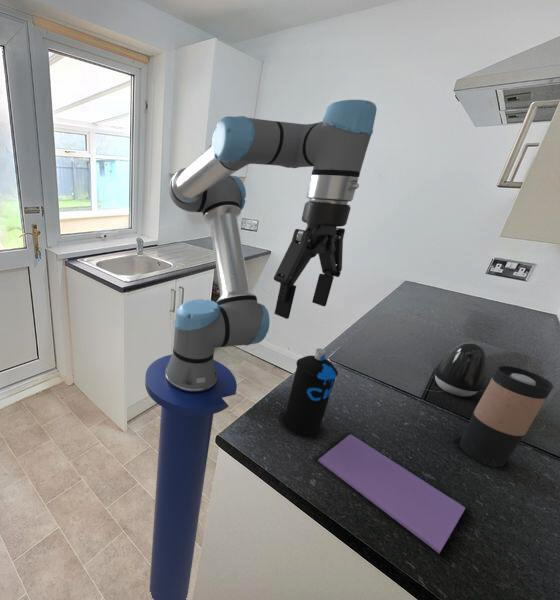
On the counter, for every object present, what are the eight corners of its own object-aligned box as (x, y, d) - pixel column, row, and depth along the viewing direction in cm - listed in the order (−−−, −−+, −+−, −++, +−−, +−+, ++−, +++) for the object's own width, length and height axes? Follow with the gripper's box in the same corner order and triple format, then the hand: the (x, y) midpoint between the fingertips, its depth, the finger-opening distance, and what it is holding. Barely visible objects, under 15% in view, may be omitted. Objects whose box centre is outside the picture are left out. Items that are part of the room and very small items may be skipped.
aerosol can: (275, 416, 75) (292, 344, 68) (301, 409, 78) (319, 339, 71) (301, 441, 68) (323, 363, 61) (328, 432, 71) (352, 357, 64)
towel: (318, 461, 64) (318, 458, 63) (349, 435, 71) (350, 433, 70) (439, 553, 48) (440, 551, 48) (464, 510, 55) (465, 507, 55)
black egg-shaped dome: (426, 389, 89) (447, 342, 84) (432, 375, 96) (451, 331, 90) (475, 407, 82) (500, 358, 77) (477, 392, 89) (501, 345, 84)
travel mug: (452, 434, 73) (489, 361, 65) (495, 447, 70) (539, 372, 62) (465, 458, 66) (508, 380, 59) (513, 474, 63) (565, 393, 56)
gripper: (309, 202, 46) (280, 330, 54) (380, 204, 60) (348, 305, 68) (267, 198, 52) (246, 314, 60) (341, 201, 66) (316, 294, 73)
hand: (301, 309), depth 64 cm, fingers open, 13 cm apart
